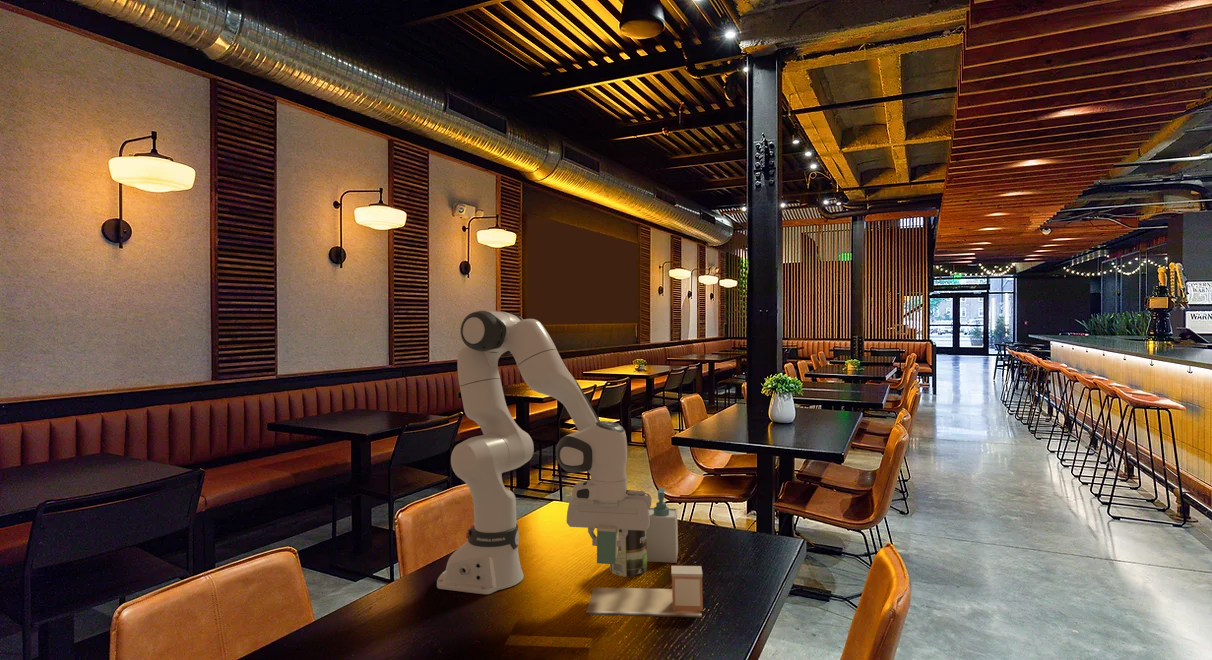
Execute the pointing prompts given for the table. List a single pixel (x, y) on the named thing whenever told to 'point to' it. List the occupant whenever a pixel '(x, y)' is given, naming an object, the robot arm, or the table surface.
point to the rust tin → (687, 588)
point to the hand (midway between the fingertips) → (607, 545)
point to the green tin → (607, 544)
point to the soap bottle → (662, 532)
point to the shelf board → (635, 602)
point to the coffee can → (631, 555)
